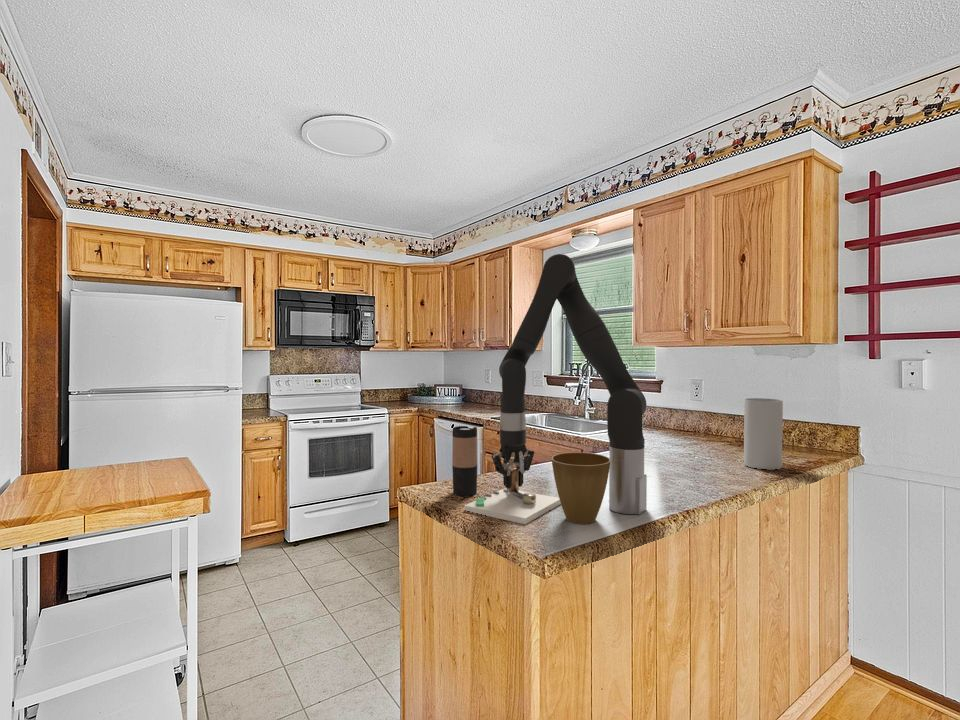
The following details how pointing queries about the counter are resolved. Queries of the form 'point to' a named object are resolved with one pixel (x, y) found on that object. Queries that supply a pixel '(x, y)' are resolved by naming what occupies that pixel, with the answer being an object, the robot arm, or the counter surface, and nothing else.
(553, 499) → the square base plate
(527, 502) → the dial lever
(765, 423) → the cylinder vase
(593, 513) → the plant pot
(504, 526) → the counter surface
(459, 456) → the travel mug
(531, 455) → the robot arm
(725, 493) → the counter surface
